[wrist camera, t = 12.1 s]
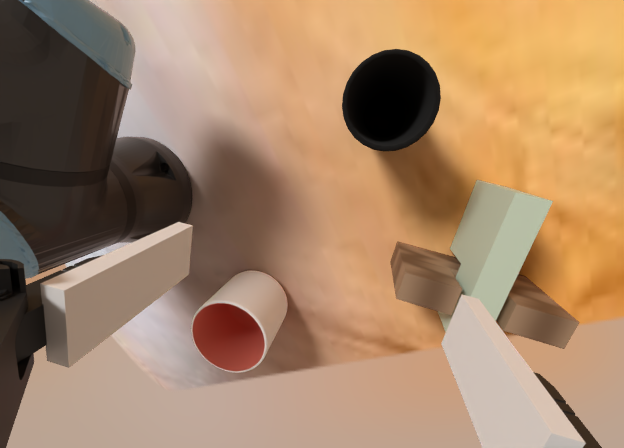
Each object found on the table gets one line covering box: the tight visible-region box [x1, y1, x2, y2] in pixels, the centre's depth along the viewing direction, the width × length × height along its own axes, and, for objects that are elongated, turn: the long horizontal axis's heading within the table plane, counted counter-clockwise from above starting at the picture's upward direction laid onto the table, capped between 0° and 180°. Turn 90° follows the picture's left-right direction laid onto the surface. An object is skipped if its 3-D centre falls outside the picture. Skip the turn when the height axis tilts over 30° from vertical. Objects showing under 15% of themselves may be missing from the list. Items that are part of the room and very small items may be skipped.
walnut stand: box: [391, 242, 579, 349], centre depth 33 cm, size 16×3×10 cm, turn 77°
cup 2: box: [342, 49, 441, 151], centre depth 29 cm, size 8×8×12 cm
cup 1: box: [191, 271, 288, 373], centre depth 40 cm, size 10×10×10 cm
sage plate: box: [438, 180, 553, 332], centre depth 32 cm, size 16×3×10 cm, turn 167°
